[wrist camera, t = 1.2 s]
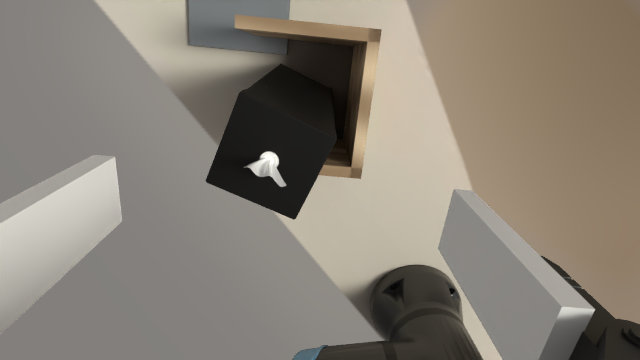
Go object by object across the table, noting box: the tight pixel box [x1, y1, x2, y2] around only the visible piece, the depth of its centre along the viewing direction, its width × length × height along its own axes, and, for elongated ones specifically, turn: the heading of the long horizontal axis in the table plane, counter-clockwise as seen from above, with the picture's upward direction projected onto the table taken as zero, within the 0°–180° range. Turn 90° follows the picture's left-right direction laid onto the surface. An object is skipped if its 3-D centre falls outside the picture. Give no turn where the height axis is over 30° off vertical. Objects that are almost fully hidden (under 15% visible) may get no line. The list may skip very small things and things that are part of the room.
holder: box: [235, 15, 381, 179], centre depth 43 cm, size 15×14×14 cm
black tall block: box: [206, 64, 337, 219], centre depth 37 cm, size 8×8×28 cm
